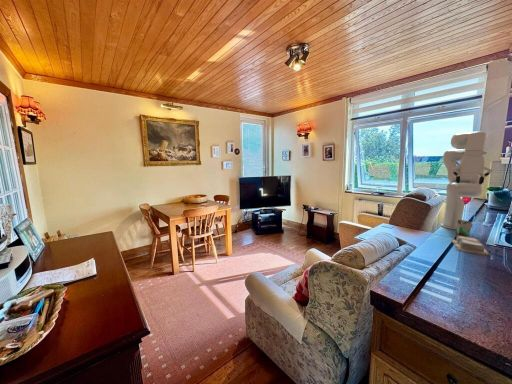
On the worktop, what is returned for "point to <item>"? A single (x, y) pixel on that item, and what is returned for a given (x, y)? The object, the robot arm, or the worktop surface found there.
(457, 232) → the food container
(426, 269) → the worktop surface
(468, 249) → the beige rectangular frame
